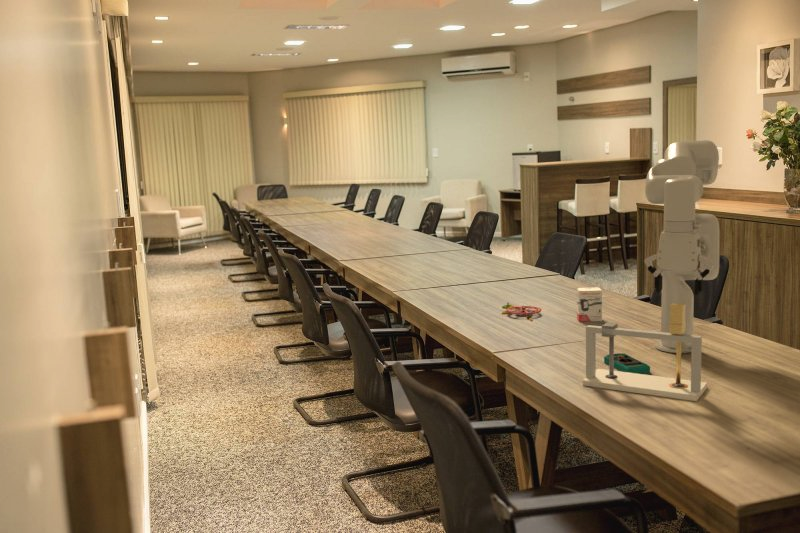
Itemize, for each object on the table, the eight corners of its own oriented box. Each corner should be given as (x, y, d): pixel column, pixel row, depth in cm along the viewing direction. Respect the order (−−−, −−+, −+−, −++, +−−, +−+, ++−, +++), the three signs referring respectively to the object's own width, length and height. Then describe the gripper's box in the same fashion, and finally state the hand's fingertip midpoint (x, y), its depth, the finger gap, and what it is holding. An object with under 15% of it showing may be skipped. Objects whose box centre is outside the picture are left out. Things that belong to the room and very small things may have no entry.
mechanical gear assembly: (512, 323, 294) (551, 321, 296) (513, 312, 293) (552, 310, 295) (492, 306, 323) (527, 305, 325) (492, 296, 322) (528, 295, 325)
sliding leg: (673, 381, 211) (674, 302, 207) (684, 383, 209) (686, 303, 206) (668, 386, 207) (669, 305, 204) (680, 387, 206) (682, 306, 202)
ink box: (578, 321, 290) (578, 290, 288) (576, 318, 295) (576, 287, 293) (602, 321, 290) (602, 289, 288) (599, 318, 294) (599, 287, 293)
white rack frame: (597, 373, 228) (597, 316, 225) (707, 387, 211) (708, 326, 209) (582, 385, 218) (582, 326, 215) (696, 401, 201) (697, 337, 199)
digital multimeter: (624, 361, 241) (624, 351, 240) (651, 374, 226) (651, 364, 226) (602, 363, 239) (602, 354, 238) (628, 377, 225) (628, 367, 224)
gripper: (718, 226, 200) (716, 292, 203) (649, 224, 209) (648, 287, 212) (711, 230, 194) (710, 298, 197) (640, 228, 203) (640, 293, 206)
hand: (678, 292), depth 205 cm, fingers open, 9 cm apart
